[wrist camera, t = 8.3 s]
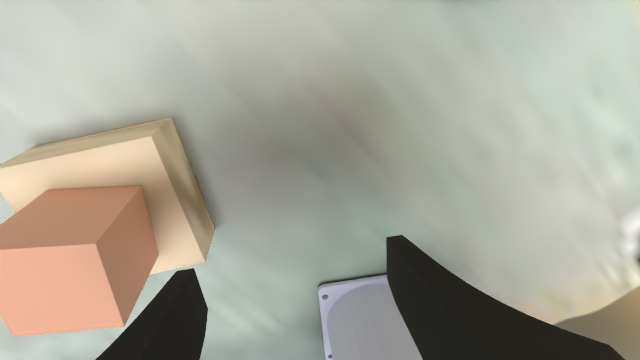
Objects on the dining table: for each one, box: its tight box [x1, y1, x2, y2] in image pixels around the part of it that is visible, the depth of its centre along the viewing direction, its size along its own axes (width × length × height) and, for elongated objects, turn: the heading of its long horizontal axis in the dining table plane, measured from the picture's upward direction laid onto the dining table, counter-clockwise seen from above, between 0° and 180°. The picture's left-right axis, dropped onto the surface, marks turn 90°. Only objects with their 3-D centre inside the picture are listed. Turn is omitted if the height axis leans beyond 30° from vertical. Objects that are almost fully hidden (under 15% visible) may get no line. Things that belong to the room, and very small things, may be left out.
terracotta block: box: [0, 186, 159, 337], centre depth 16 cm, size 4×4×5 cm
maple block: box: [0, 118, 215, 275], centre depth 20 cm, size 8×8×4 cm
